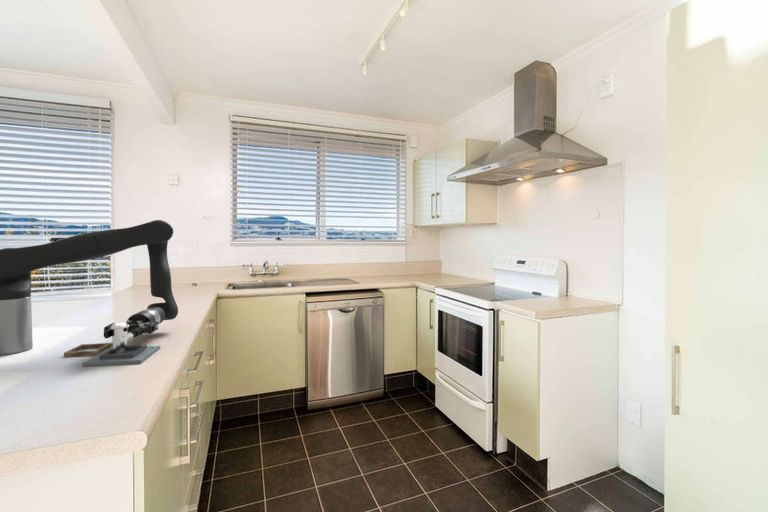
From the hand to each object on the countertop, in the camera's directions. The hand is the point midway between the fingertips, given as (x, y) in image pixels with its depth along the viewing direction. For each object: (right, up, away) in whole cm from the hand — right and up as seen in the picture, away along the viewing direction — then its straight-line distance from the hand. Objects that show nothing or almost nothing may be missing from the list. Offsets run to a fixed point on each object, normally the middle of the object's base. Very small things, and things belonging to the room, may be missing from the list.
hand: (120, 334), depth 107 cm
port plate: (-1, -8, +2) cm, 8 cm away
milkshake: (-2, -6, +3) cm, 7 cm away
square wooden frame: (-15, -7, +7) cm, 19 cm away
